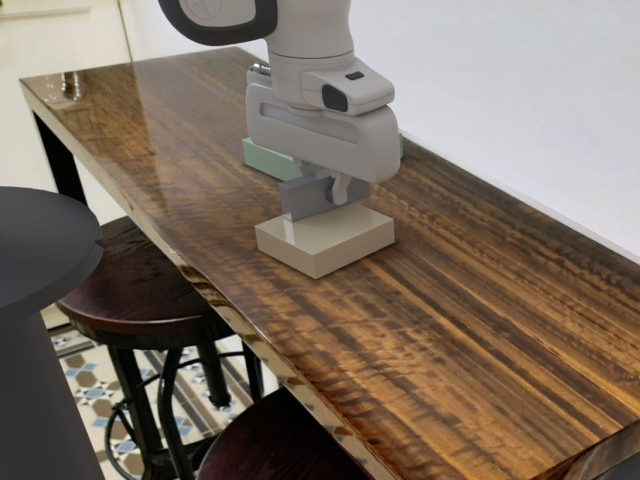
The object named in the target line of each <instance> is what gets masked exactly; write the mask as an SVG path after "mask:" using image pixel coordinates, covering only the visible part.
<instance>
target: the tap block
mask: <svg viewBox="0 0 640 480" xmlns="http://www.w3.org/2000/svg"><path fill="white" fill-rule="evenodd" d="M253 227H254V232H255V238H256V244H257V249H258V251H260V252H262V253H264V254H266V255H267V256H269V257H272V258H274V259H276V260H277V261H279V262H281V263H284V264H286V265H287V266H289V267H290V268H292V269H295V270H297V271H299V272H300V273H302V274H304V275H306V276H308V277H309V278H312V279H314V280H318V279H320V278H323V277H324V276H326V275H329V274H330V273H333V272H335V271H337V270H339V269H341V268H343V267H345V266H347V265H349V264H352V263H354V262H356V261H358V260H359V259H362V258H364V257H366V256H369V255H370V254H373V253H375V252H377V251H379V250H381V249H383V248H385V247H388V246H390V245H392V244H394V243H395V242H396V237H395V219H394V218H392V217H390V216H388V215H385V214H383V213H381V212H379V211H376V210H374V209H371V208H369V207H366V206H364V205H362V204H359V203H357V202H356V201H354V202H351V203H348V204H345V205H342V206H339V207H336V208H333V209H330V210H327V211H324V212H321V213H318V214H315V215H312V216H309V217H306V218H303V219H299V220H296V221H293V222H292V221H290V220H288V219H287V218H285V217H284V216H283V214H281V215H278V216H277V217H274V218H270V219H268V220H266V221H263V222H260V223H258V224H255V225H254V226H253Z"/></svg>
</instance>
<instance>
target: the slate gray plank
mask: <svg viewBox="0 0 640 480" xmlns="http://www.w3.org/2000/svg"><path fill="white" fill-rule="evenodd" d="M335 179H336V178H332V176H331V169H326V170H322V171H319V172H315V173H312V174H308V175H305V176H301V177H298V178H294V179H291V180H288V181H281V182H278V183H277V185H278V192H279V199H280V205H281V206H280V207H281V215H283V216H284V217H285V218H287V219H288V220H290V221H292V222H293V221H296V220H299V219H303V218H306V217H309V216H312V215H315V214H318V213H321V212H324V211H327V210H330V209H333V208H336V207H339V206H342V205H345V204H348V203H351V202H358V201H360V200H364V199H366V198H370V197H371V187H370V182H367V181H364V180H361V179H358V178H355V177H352V179H351V180H350V182H349V184H348V186H347V188H346V191H347V201H346V202H345V203H343V204H341V205H336V204H333V203H331V202H328V200H327V197H328V195H327V190H326V189H327V188H329V187H333V185H334V182H335Z"/></svg>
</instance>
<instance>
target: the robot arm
mask: <svg viewBox="0 0 640 480" xmlns="http://www.w3.org/2000/svg"><path fill="white" fill-rule="evenodd" d="M157 2H158V5H159V7H160V9H161V12H162V13H163V15H164V16H165V18H166V20H167V21H168V22H169V23H170V25H171V26H172V27H173V28H174V29H175V30H176V32H178V33H179V34H180V35H182V36H183V37H184V38H186V39H188V40H190V41H191V42H194V43H195V44H198V45H202V46H207V47H224V46H225V47H226V46H231V45H239V44H244V43H249V42H254V41H257V40H263V41H265V42H266V48H267V56H268V64H267V63H265V62H261V61H255V62H254V63H253V64H252V65H250V66H249V67H248V69H247V71H246V75H245V77H246V83H247V87H246V90H245V117H246V127H247V134H248V137H250V138H251V140H252V141H253V143H254V144H255V145H257V146H260V147H263V148H266V149H270V150H273V151H276V152H279V153H282V154H285V155H288V156H291V157H293V165H294V167H295V168H296V170H297V172H298V174H299V176H300V177H301V176H305V175H308V174H312V173H315V169H314V167H313V165H312V164H315V165H318V166H321V167H325V168H328V169H331V176H332V178H336V179H335V182H334V185H333V187H329V188H327V189H326V190H327V195H328V197H327V200H328V202H331V203H333V204H336V205H341V204H343V203H345V202H346V201H347V191H346V188H347V186H348V184H349V182H350V180H351V179H352V177H355V178H358V179H361V180H364V181H367V182H369V183H371V184H373V185H379V184H382V183H384V182H386V181H389V180H390V179H392V178H394V177H395V176H396V175H397V174H398V172H399V170H400V167H401V158H400V142H399V132H400V130H399V124H398V120H397V117H396V114H395V112H394V111H393V109H392V108H391V107H390V106H389V104H391V103H392V102H394V100H395V98H396V91H395V86H394V83H393V82H392V81H391V80H389V79H387V78H386V77H385V76H383V75H382V74H380V73H378V72H377V71H376V70H374V69H373V68H372V67H370V66H369V65H368V64H366V63H365V62H364V61H363V60H362V59H360V58H359V57H358V56H355V44H354V39H353V36H352V33H351V29H350V25H349V24H350V23H349V16H350V11H351V5H352V0H157Z"/></svg>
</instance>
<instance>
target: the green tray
mask: <svg viewBox="0 0 640 480" xmlns="http://www.w3.org/2000/svg"><path fill="white" fill-rule="evenodd" d="M399 142H400V159H402V158H403V157H404V149H403V146H404V145H403V133H402V132H400V131H399ZM241 143H242V150H243V155H244V160H245V165H246V166H249V167H251V168H253V169H254V170H258V171H259V172H262V173H263V174H264V173H265V174H266V175H269V176H271V177H273V178H276V179H279V180H280V181H281V182H284V181H288V180H291V179H294V178H298V177H300V176H299V174H298V172H297V170H296V168H295V167H294V165H293V157H291V156H288V155H285V154H282V153H279V152H276V151H273V150H270V149H266V148H263V147H260V146H257V145H255V144H254V143H253V141H252V140H251V138H250V136H248V137H247V138H242V139H241ZM312 165H313V167H314V169H315V172H319V171H322V170H326V169H328V168H325V167H321V166H318V165H315V164H312Z"/></svg>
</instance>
